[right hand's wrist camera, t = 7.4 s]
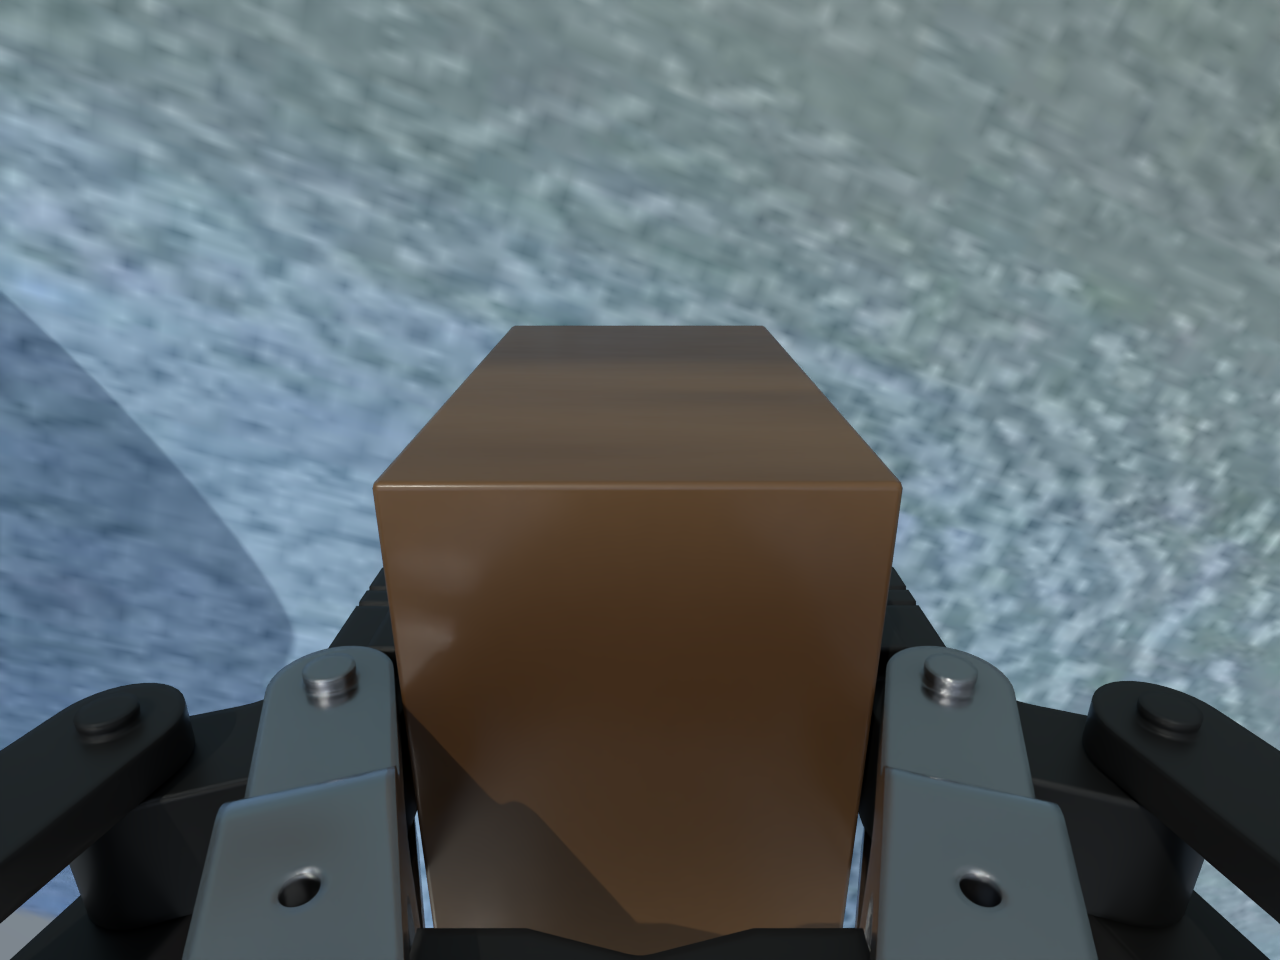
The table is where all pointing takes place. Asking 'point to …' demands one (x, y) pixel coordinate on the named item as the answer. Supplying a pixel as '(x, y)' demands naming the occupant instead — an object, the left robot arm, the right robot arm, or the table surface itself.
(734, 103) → the table surface
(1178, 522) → the table surface
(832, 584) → the block
